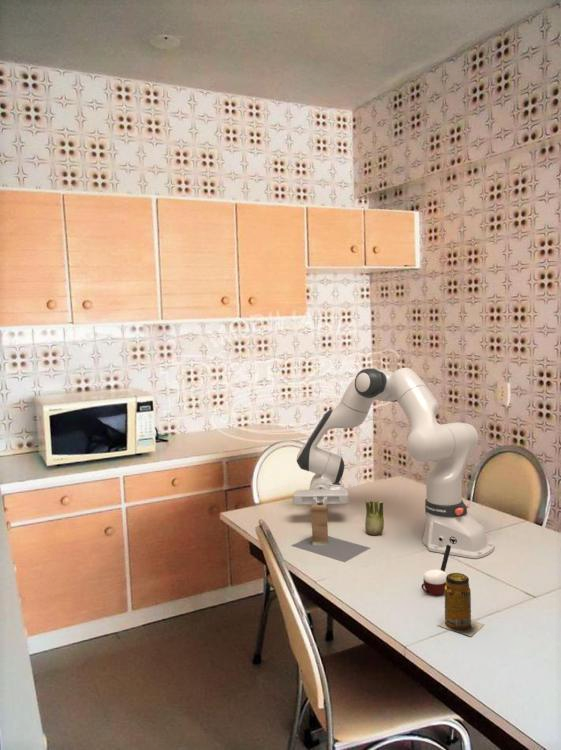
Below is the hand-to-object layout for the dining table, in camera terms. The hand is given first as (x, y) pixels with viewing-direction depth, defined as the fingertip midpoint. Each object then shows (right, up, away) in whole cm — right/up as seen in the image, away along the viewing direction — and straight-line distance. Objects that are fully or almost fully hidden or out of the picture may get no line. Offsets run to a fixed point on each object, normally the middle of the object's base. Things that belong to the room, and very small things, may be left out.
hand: (320, 503), depth 212 cm
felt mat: (+2, -11, -15) cm, 19 cm away
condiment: (+30, -15, -66) cm, 74 cm away
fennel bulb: (+18, -10, -6) cm, 21 cm away
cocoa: (+28, -14, -49) cm, 58 cm away
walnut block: (-1, -10, -11) cm, 15 cm away
